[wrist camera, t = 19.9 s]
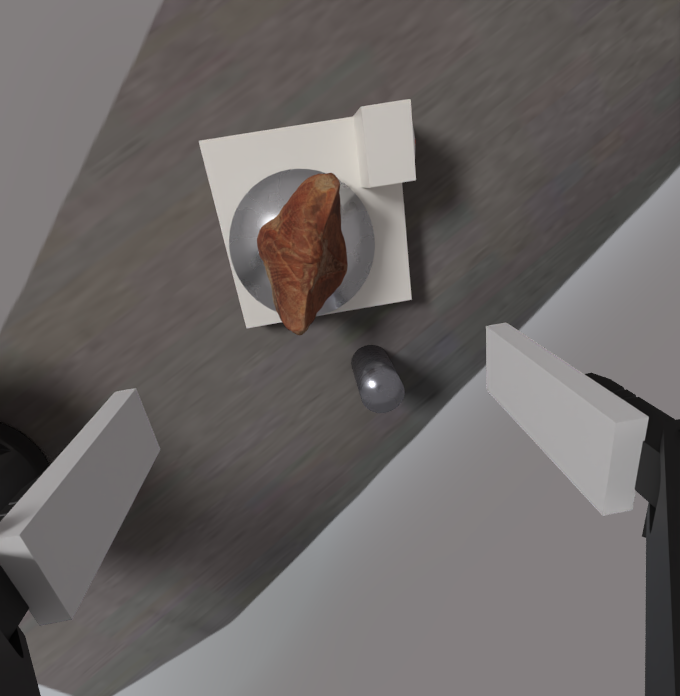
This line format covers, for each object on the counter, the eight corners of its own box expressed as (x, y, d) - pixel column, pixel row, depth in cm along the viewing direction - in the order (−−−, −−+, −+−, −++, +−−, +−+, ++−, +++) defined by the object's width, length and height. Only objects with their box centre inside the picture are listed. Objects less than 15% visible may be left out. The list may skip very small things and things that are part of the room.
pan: (250, 323, 42) (248, 327, 41) (214, 181, 37) (211, 181, 36) (379, 300, 43) (382, 304, 42) (363, 158, 38) (365, 157, 36)
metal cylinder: (354, 382, 50) (363, 416, 42) (348, 348, 48) (358, 378, 41) (390, 375, 50) (406, 408, 43) (386, 341, 48) (402, 370, 41)
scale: (249, 319, 45) (240, 345, 38) (205, 144, 38) (183, 134, 31) (408, 292, 46) (429, 312, 39) (393, 114, 39) (416, 98, 32)
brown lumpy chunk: (310, 142, 32) (336, 224, 27) (378, 194, 38) (410, 270, 32) (228, 246, 39) (235, 327, 34) (295, 276, 44) (311, 351, 39)
